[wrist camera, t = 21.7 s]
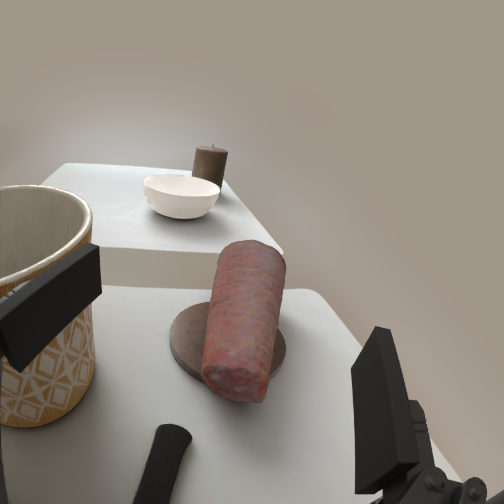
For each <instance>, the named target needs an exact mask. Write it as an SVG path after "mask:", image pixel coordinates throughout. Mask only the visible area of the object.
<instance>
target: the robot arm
mask: <svg viewBox="0 0 504 504" xmlns="http://www.w3.org/2000/svg"><path fill="white" fill-rule="evenodd" d="M100 294H102V286H101V273H100V255H99V246H97V245H94V244H91V243H88V242H87V243H86V244H84V245H83V246H81V247H79V248H78V249H76V250H75V251H73V252H72V253H70V254H69V255H67V256H66V257H64V258H63V259H61V260H60V261H58V262H57V263H55V264H54V265H52V266H51V267H49V268H48V269H46V270H45V271H44V272H42V273H41V274H39V275H38V276H36V277H35V278H34V279H32V280H29V281H26V282H24V283H21V284H19V285H18V286H16V287H15V288H14V289H12V291H10V292H8V293H7V294H6V296H3V297H2V298H0V404H1V383H2V371H3V361H2V359H1V358H2V357H3V356H4V355H5V356H6V359H7V361H8V363H9V365H10V366H12V367H13V368H14V369H15V370H17V371H18V372H19V373H21V372H22V371H23V370H24V369H25V368H26V367H27V366H28V365H29V364H30V363H31V362H32V361H33V360H34V359H35V358H36V357H37V355H38V354H39V353H40V352H41V351H42V350H43V349H44V348H45V347H46V346H47V345H48V344H49V343H50V342H51V341H52V340H53V339H54V338H55V337H56V336H57V335H58V334H59V333H60V332H61V331H62V330H63V329H64V328H65V327H66V326H67V325H68V324H70V323H71V322H72V321H73V320H74V319H75V318H76V317H77V316H78V315H79V314H80V313H81V312H82V311H83V310H84V309H85V308H86V307H87V306H88V305H90V304H91V303H92V302H93V301H94V300H95V299H96V298H97V297H98V296H99V295H100ZM351 377H352V391H353V407H354V429H355V494H375V493H377V492H378V491H380V490H381V489H383V496H382V497H380V498H378V499H377V500H375V501H373V502H371V503H370V504H485V502H486V497H487V489H486V485H485V483H484V482H483V481H482V480H481V479H480V478H477V477H473V478H470V479H468V480H467V481H466V482H464V483H460V482H456V481H452V480H448V479H447V477H446V474H445V473H444V472H443V471H442V470H441V469H440V468H438V467H435V464H434V458H433V453H432V447H431V442H430V437H429V433H428V428H427V424H426V419H425V414H424V411H423V409H422V408H421V406H420V404H419V403H418V401H416V400H408V395H407V391H406V387H405V383H404V378H403V374H402V370H401V366H400V363H399V359H398V355H397V352H396V348H395V344H394V341H393V337H392V334H391V331H390V329H386V328H381V327H377V326H375V328H374V330H373V331H372V333H371V335H370V337H369V339H368V340H367V342H366V344H365V346H364V347H363V349H362V351H361V353H360V354H359V356H358V358H357V359H356V361H355V363H354V364H353V366H352V368H351ZM0 504H9V502H8V497H7V491H6V485H5V478H4V470H3V461H2V449H1V429H0Z"/></svg>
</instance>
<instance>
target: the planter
mask: <svg viewBox="0 0 504 504" xmlns="http://www.w3.org/2000/svg"><path fill="white" fill-rule="evenodd" d="M91 234H92V211H91V209H90V207H89V205H88V204H87V203H86V202H85V201H84V200H83V199H82V198H80V197H79V196H77V195H75V194H73V193H71V192H68V191H65V190H62V189H58V188H53V187H48V186H37V185H15V186H4V187H0V298H2V297H3V296H6V294H7V293H8V292H10V291H12V289H14V288H15V287H16V286H18V285H19V284H21V283H24V282H26V281H29V280H32V279H34V278H35V277H36V276H38V275H39V274H41V273H42V272H44V271H45V270H46V269H48V268H49V267H51V266H52V265H54V264H55V263H57V262H58V261H60V260H61V259H63V258H64V257H66V256H67V255H69V254H70V253H72V252H73V251H75V250H76V249H78V248H79V247H81V246H83V245H84V244H86V243H87V242H88V243H91ZM1 359H2V361H3V371H2V383H1V404H0V423H1V424H4V425H8V426H13V427H36V426H41V425H44V424H47V423H50V422H52V421H54V420H56V419H58V418H60V417H62V416H63V415H65V414H66V413H67V412H69V411H70V410H71V409H72V408H73V407H74V406H75V405H76V404H77V403H78V402H79V401H80V399H81V398H82V397H83V395H84V394H85V392H86V390H87V388H88V386H89V384H90V382H91V379H92V376H93V372H94V366H95V349H94V339H93V326H92V310H91V304H90V305H88V306H87V307H86V308H85V309H84V310H83V311H82V312H81V313H80V314H79V315H78V316H77V317H76V318H75V319H74V320H73V321H72V322H71V323H70V324H68V325H67V326H66V327H65V328H64V329H63V330H62V331H61V332H60V333H59V334H58V335H57V336H56V337H55V338H54V339H53V340H52V341H51V342H50V343H49V344H48V345H47V346H46V347H45V348H44V349H43V350H42V351H41V352H40V353H39V354H38V355H37V357H36V358H35V359H34V360H33V361H32V362H31V363H30V364H29V365H28V366H27V367H26V368H25V369H24V370H23V371H22V372H21V373H19V372H18V371H17V370H15V369H14V368H13V367H12V366H10V365H9V363H8V361H7V359H6V356H5V355H4V356H3V357H2V358H1Z"/></svg>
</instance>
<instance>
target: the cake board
mask: <svg viewBox="0 0 504 504" xmlns="http://www.w3.org/2000/svg"><path fill="white" fill-rule="evenodd" d="M209 307H210V302H205V303H200V304H196V305H193V306H191V307H189V308H187V309H185V310H184V311H182V312H181V313H180V314H179V315H178V316H177V317H176V319H175V320H174V322H173V324H172V326H171V330H170V347H171V350H172V353H173V355H174V357H175V359H176V360H177V362H178V363H179V364H180V366H181V367H182V368H183V369H184V370H185V371H187V372H188V373H189V374H190V375H192V376H194V377H195V378H197V379H198V380H201V381H203V382H205V381H204V380H203V378H202V377H201V376H200V375H201V365H202V357H203V349H204V340H205V335H206V324H207V318H208V311H209ZM285 353H286V345H285V340H284V338H283V335H282V333H281V332H280V330H279V329H278V327H277V332H276V339H275V342H274V348H273V357H272V360H271V367H270V372H269V377H268V380H269V379H270V378H272V377H273V376H274V375H275V374H276V373H277V372H278V370H279V369H280V367H281V365H282V363H283V360H284V358H285Z"/></svg>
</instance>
